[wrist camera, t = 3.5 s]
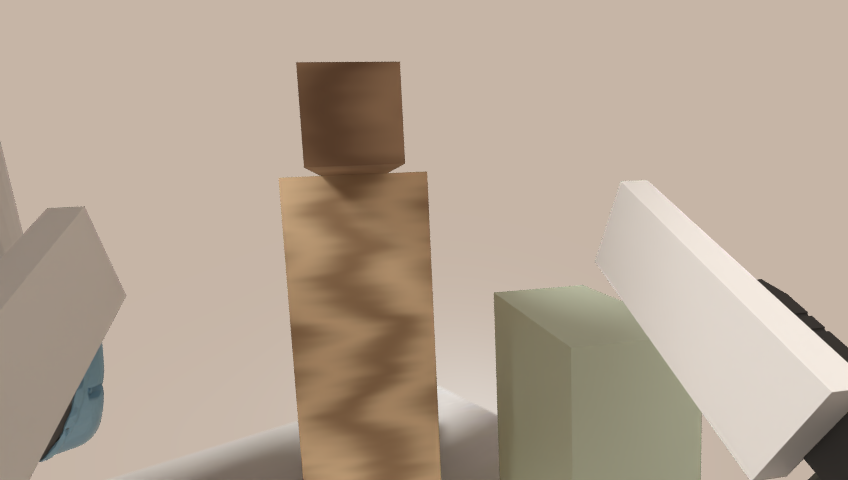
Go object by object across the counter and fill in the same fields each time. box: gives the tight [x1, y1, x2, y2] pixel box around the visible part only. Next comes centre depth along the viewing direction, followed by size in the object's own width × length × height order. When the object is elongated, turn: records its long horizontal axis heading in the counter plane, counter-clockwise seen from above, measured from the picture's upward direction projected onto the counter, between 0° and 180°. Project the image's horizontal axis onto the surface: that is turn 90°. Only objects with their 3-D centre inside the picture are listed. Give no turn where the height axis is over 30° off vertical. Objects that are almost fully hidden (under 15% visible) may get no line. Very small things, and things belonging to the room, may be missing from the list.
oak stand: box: [279, 172, 441, 480], centre depth 36 cm, size 9×12×30 cm
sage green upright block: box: [494, 285, 702, 480], centre depth 34 cm, size 8×14×20 cm, turn 9°
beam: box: [296, 62, 405, 176], centre depth 30 cm, size 5×24×9 cm, turn 9°
